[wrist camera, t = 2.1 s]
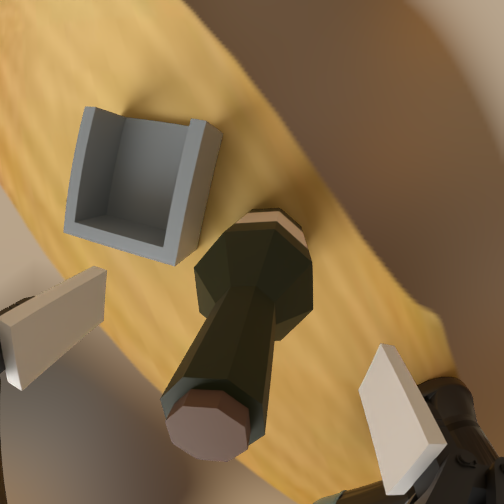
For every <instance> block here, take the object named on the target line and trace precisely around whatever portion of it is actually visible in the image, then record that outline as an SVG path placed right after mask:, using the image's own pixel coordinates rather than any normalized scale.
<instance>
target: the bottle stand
mask: <svg viewBox="0 0 504 504" xmlns="http://www.w3.org/2000/svg"><path fill="white" fill-rule="evenodd" d="M222 137H223V133H222V132H221V131H219V130H218V129H217V128H215V127H214V126H213V125H211V124H210V123H208V122H207V121H203V120H198V119H192V118H191V121H190V125H189V126H185V125H178V124H172V123H165V122H159V121H151V120H144V119H136V118H127V117H123V116H121V115H118V114H115V113H112V112H109V111H106V110H103V109H100V108H97V107H85V109H84V113H83V117H82V121H81V125H80V130H79V134H78V139H77V143H76V148H75V153H74V159H73V164H72V170H71V176H70V182H69V189H68V196H67V204H66V212H65V222H64V233H67V234H70V235H73V236H76V237H79V238H83V239H86V240H89V241H92V242H95V243H99V244H102V245H105V246H108V247H112V248H115V249H118V250H121V251H125V252H128V253H131V254H135V255H138V256H141V257H145V258H148V259H152V260H155V261H158V262H162V263H165V264H169V265H172V266H176V265H177V264H178V263H180V262H181V261H182V260H184V259H185V258H186V257H187V256H189V255H190V254H191V253H193V252H194V251H195V250H197V246H198V242H199V237H200V232H201V227H202V223H203V218H204V213H205V209H206V204H207V200H208V195H209V191H210V187H211V182H212V178H213V174H214V169H215V165H216V161H217V157H218V153H219V149H220V145H221V141H222Z"/></svg>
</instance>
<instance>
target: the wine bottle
mask: <svg viewBox="0 0 504 504" xmlns="http://www.w3.org/2000/svg"><path fill="white" fill-rule="evenodd" d="M194 272H195V281H196V289H197V297H198V304H199V312H200V313H201V314H202V315H203V316H204V317H206V318H207V319H206V321H205V322H204V324H203V326H202V327H201V329H200V331H199V333H198V334H197V336H196V338H195V339H194V341H193V343H192V345H191V346H190V348H189V350H188V352H187V353H186V355H185V357H184V358H183V360H182V362H181V364H180V365H179V367H178V369H177V371H176V372H175V374H174V376H173V377H172V379H171V381H170V383H169V384H168V386H167V388H166V390H165V391H164V393H163V395H162V397H161V398H160V400H161V403H162V407H163V411H164V414H165V417H166V420H165V422H166V425H167V429H168V432H169V435H170V438H171V441H172V443H173V444H174V445H176V446H177V447H179V448H180V449H182V450H184V451H185V452H187V453H188V454H190V455H191V456H193V457H195V458H196V459H201V460H212V461H224V462H228V461H230V460H231V459H233V458H235V457H236V456H238V455H239V454H241V453H243V452H244V451H246V450H247V449H248V445H250V444H252V443H253V442H255V441H256V440H258V439H259V438H261V437H262V436H264V435H265V427H266V419H267V409H268V400H269V391H270V381H271V371H272V361H273V351H274V341H281V340H282V339H283V338H284V337H285V336H286V335H287V334H288V333H289V332H290V331H291V330H292V329H293V328H294V327H295V326H296V325H298V324H299V323H300V322H301V321H302V320H303V319H304V318H305V317H306V316H307V315H308V314H309V313H310V312H311V311H312V310H313V270H312V260H311V257H310V254H309V250H308V247H307V244H306V241H305V238H304V234H303V231H302V228H301V226H300V225H299V224H297V223H296V222H295V221H294V220H293V219H292V218H291V217H290V216H289V215H287V214H286V213H285V212H284V211H283V210H282V209H281V208H270V209H253V210H251V211H250V212H248V213H247V214H246V215H245V216H243V217H242V218H241V219H240V220H238V221H237V222H236V223H235V224H233V225H232V226H231V227H230V228H228V229H227V230H226V231H225V232H224V233H223V234H222V235H221V236H220V237H219V239H218V240H217V241H216V242H215V243H214V244H213V246H212V247H211V248H210V249H209V250H208V252H207V253H206V254H205V255H204V256H203V258H202V259H201V260H200V261H199V262H198V263H197V265H196V266H195V267H194Z"/></svg>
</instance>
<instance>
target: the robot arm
mask: <svg viewBox="0 0 504 504" xmlns="http://www.w3.org/2000/svg"><path fill="white" fill-rule="evenodd" d="M106 276H107V270H105V269H102V268H99V267H96V266H93V267H91V268H89V269H87V270H85V271H83V272H81V273H79V274H77V275H75V276H73V277H71V278H69V279H67V280H65V281H64V282H62V283H60V284H58V285H56V286H54V287H52V288H51V289H48V290H46V291H45V292H43V293H41V294H39V295H37V296H32V297H28V298H24V299H22V300H20V301H18V302H16V303H15V304H13V305H11V306H9V308H8V307H7V308H5V309H3V310H1V311H0V373H1V372H3V371H4V370H5V371H6V375H7V380H8V382H9V383H11V384H12V385H13V386H15V387H17V388H18V389H20V390H21V391H22V390H23V389H24V388H26V387H27V386H28V385H29V384H30V383H31V382H32V381H34V380H35V379H36V378H37V377H38V376H39V375H40V374H41V373H43V372H44V371H45V370H46V369H47V368H48V367H49V366H51V365H52V364H53V363H54V362H55V361H57V360H58V359H59V358H60V357H61V356H62V355H63V354H65V353H66V352H67V351H68V350H69V349H71V348H72V347H73V346H74V345H75V344H76V343H78V342H79V341H80V340H81V339H82V338H84V337H85V336H86V335H87V334H88V333H89V332H91V331H92V330H93V329H94V328H95V327H97V326H98V325H99V324H100V323H101V322H103V321H104V304H105V288H106ZM0 389H1V379H0ZM359 394H360V397H361V401H362V404H363V408H364V411H365V415H366V418H367V422H368V426H369V429H370V433H371V437H372V440H373V444H374V448H375V452H376V456H377V460H378V464H379V468H380V472H381V476H382V480H381V481H378V482H375V483H372V484H369V485H366V486H362V487H359V488H356V489H352V490H349V491H347V490H343V491H341V492H340V493H338V494H335V495H331V496H328V497H324V498H321V499H319V500H317V501H315V502H314V503H313V504H504V457H499V456H498V455H497V453H496V452H495V450H494V448H493V447H492V445H491V443H490V442H489V440H488V439H487V437H486V436H485V434H484V432H483V431H482V430H481V428H480V426H479V425H478V423H477V420H476V415H475V410H474V403H473V397H472V394H471V392H470V391H469V389H468V388H467V387H466V385H465V384H464V383H463V382H462V381H461V380H459V379H456V378H452V377H441V378H436V379H433V380H430V381H427V382H425V383H423V384H421V385H419V386H417V385H416V383H415V381H414V380H413V378H412V376H411V374H410V372H409V371H408V369H407V367H406V365H405V364H404V362H403V360H402V358H401V357H400V355H399V353H398V351H397V350H396V348H395V346H392V345H386V344H381V343H380V345H379V348H378V350H377V352H376V354H375V356H374V359H373V361H372V363H371V365H370V367H369V369H368V371H367V374H366V376H365V378H364V380H363V382H362V384H361V386H360V388H359ZM0 504H7V498H6V492H5V485H4V477H3V468H2V456H1V440H0Z"/></svg>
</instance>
